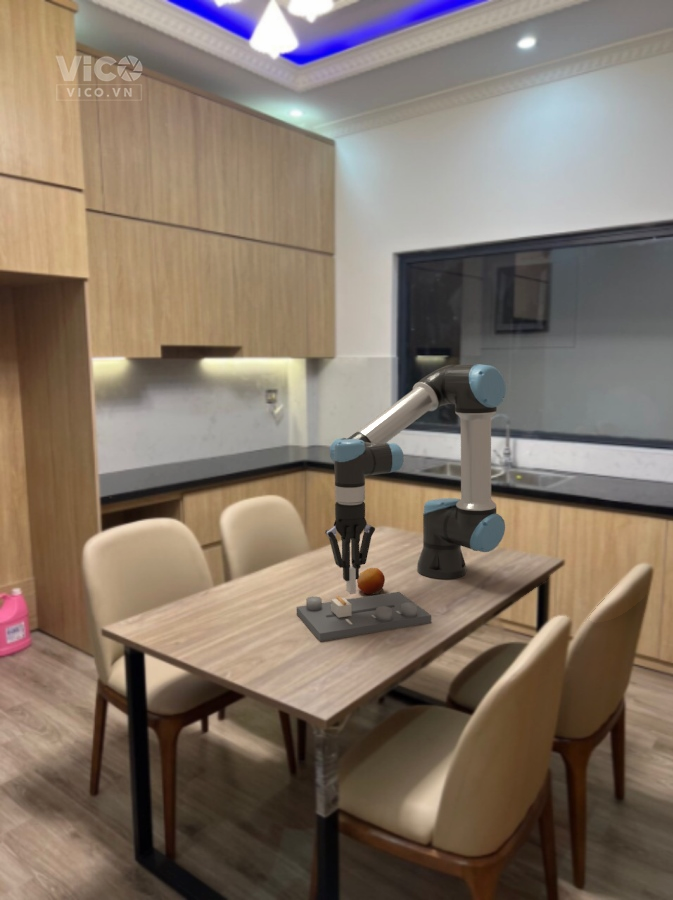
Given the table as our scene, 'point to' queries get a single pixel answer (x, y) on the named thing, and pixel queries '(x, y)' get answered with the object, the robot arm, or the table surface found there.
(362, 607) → the console
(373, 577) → the fruit
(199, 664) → the table surface
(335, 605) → the fader
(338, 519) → the robot arm
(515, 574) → the table surface
